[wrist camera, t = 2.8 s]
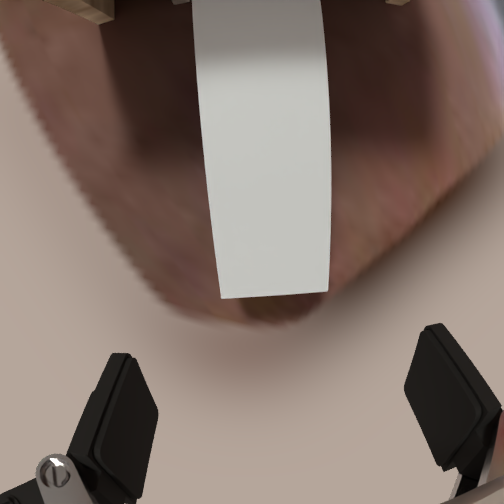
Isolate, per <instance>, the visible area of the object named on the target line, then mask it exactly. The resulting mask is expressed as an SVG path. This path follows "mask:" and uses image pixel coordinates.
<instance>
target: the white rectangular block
mask: <svg viewBox="0 0 504 504" xmlns="http://www.w3.org/2000/svg"><path fill="white" fill-rule="evenodd" d="M192 12H193V29H194V45H195V59H196V73H197V85H198V98H199V109H200V120H201V131H202V141H203V151H204V161H205V171H206V180H207V189H208V198H209V206H210V215H211V223H212V231H213V239H214V247H215V255H216V263H217V270H218V277H219V285H220V292H221V299H225V298H243V297H260V296H274V295H288V294H302V293H314V292H326V291H328V281H329V261H330V234H331V136H330V110H329V90H328V75H327V61H326V49H325V38H324V28H323V19H322V10H321V2H320V0H192Z"/></svg>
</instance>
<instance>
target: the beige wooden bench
mask: <svg viewBox="0 0 504 504" xmlns="http://www.w3.org/2000/svg"><path fill="white" fill-rule="evenodd" d="M43 1H46V2H48V3H51V4H53V5H56V6H58V7H60V8H63V9H65V10H67V11H70V12H72V13H74V14H76V15H79V16H81V17H83V18H85V19H87V20H90V21H92V22H94V23H96V24H98V25H99V24H102V23H105V22H108V21H112V20H115V16H114V0H43ZM171 1H172V2H173V4H174V5H176V4H181V3H187V2H190V0H171ZM409 1H411V0H385V3H389V4H394V5H399V6H402V5H404V4H405V3H407V2H409Z"/></svg>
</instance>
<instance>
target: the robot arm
mask: <svg viewBox="0 0 504 504" xmlns="http://www.w3.org/2000/svg"><path fill="white" fill-rule="evenodd" d="M404 391H405V395H406V397H407V399H408V401H409V403H410V405H411V408H412V410H413V412H414V414H415V416H416V418H417V420H418V423H419V425H420V427H421V429H422V432H423V434H424V436H425V438H426V441H427V443H428V445H429V448H430V450H431V452H432V455H433V457H434V459H435V462H436V464H437V465H438V466H441V467H442V469H443V471H444V472H445V471H447V470H450V469H452V468H454V467H457V469H458V471H459V474H458V476H457V479H456V482H455V485H454V488H453V490H452V493H451V496H450V498H449V500H448V501H446V502H444V503H441V504H504V410H502V409H501V404H500V402H499V401H498V399H497V398H496V396H495V395H494V394H493V392H492V390H491V389H490V387H489V386H488V384H487V383H486V381H485V380H484V378H483V377H482V376H481V375H480V373H479V371H478V370H477V369H476V367H475V366H474V364H473V363H472V362H471V360H470V359H469V357H468V356H467V355H466V353H465V352H464V351H463V349H462V348H461V347H460V345H459V344H458V343H457V341H456V340H455V339H454V337H453V336H452V335H451V334H450V332H449V331H448V330H447V328H446V327H445V326H444V325H443V324H442V323H438V324H433V325H429V326H426V327H425V328H424V331H422V332H421V333H420V336H419V339H418V343H417V346H416V350H415V354H414V356H413V360H412V363H411V366H410V370H409V372H408V375H407V379H406V381H405V385H404ZM157 421H158V409H157V406H156V404H155V402H154V400H153V397H152V395H151V393H150V391H149V388H148V386H147V384H146V381H145V379H144V377H143V374H142V372H141V369H140V367H139V364H138V362H137V360H136V359H135V358H132V356H131V355H130V354H128V353H112V355H111V356H110V358H109V360H108V362H107V364H106V367H105V369H104V371H103V373H102V375H101V378H100V380H99V382H98V384H97V387H96V389H95V390H94V391H93V392H92V393H91V395H90V397H89V400H88V402H87V404H86V407H85V409H84V411H83V414H82V416H81V419H80V421H79V423H78V426H77V428H76V431H75V433H74V436H73V438H72V441H71V443H70V446H69V449H68V451H67V454H66V456H65V455H62V454H52V455H49V456H46V457H45V458H43V459H42V460H41V461H40V462H39V464H38V466H37V468H36V478H34V479H32V480H30V481H28V482H26V483H24V484H22V485H19V486H17V487H15V488H13V489H11V490H8V491H6V492H4V493H2V494H0V504H124V503H126V504H136V501H137V499H139V498H141V497H142V493H143V488H144V482H145V478H146V473H147V468H148V463H149V458H150V453H151V448H152V443H153V439H154V434H155V430H156V425H157Z"/></svg>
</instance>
